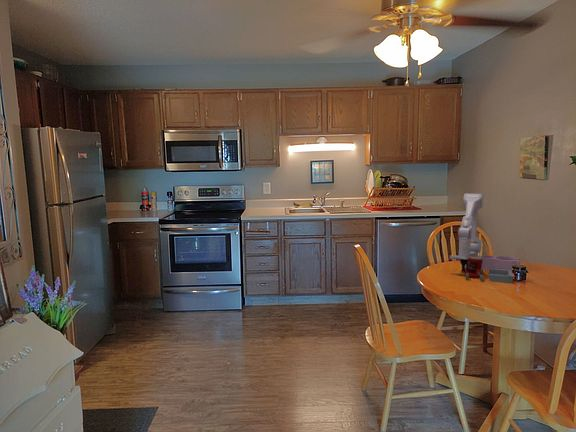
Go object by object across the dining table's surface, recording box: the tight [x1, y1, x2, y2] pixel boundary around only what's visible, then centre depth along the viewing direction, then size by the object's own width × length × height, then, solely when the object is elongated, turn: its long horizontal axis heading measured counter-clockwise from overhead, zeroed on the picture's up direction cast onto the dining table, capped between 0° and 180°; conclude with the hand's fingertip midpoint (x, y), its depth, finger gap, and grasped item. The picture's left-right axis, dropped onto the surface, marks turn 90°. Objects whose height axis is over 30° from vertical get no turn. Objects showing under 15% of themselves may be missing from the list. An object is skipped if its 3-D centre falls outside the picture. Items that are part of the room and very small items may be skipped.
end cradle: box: [488, 268, 514, 284], centre depth 214 cm, size 14×11×4 cm
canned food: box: [464, 254, 483, 279], centre depth 219 cm, size 8×8×11 cm
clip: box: [480, 254, 521, 272], centre depth 232 cm, size 20×12×7 cm, turn 62°
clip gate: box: [479, 268, 485, 282], centre depth 218 cm, size 19×2×2 cm, turn 154°
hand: (463, 272), depth 222 cm, fingers closed, pressing on canned food
